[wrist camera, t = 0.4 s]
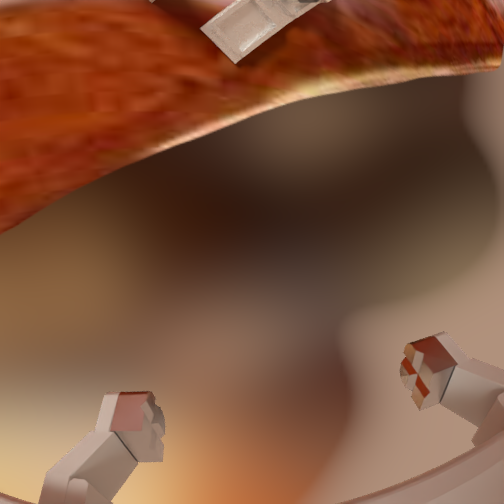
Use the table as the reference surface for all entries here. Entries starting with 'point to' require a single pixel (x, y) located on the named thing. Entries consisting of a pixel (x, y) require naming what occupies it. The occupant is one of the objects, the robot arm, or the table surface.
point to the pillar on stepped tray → (252, 23)
